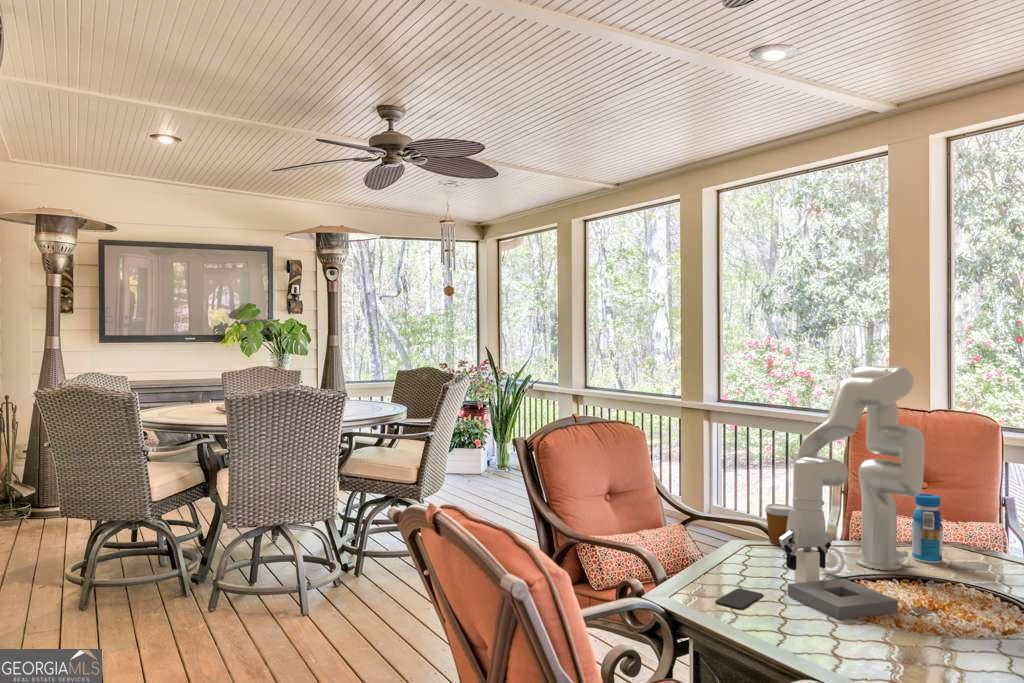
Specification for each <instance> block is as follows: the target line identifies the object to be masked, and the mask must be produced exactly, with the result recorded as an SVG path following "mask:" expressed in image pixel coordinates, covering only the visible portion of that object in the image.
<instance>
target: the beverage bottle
mask: <svg viewBox="0 0 1024 683" xmlns="http://www.w3.org/2000/svg"><path fill="white" fill-rule="evenodd" d="M914 498H915V499H914V500H915V501H914V502H915V506H917V507H916V508H915V509H914V511H913V512H912V519H913V520H912V522H911V527H912V531H911V532H912V534H911V535H912V538H911V539H912V543H911V544H912V545H911V547H912V548H911V552H912V553H911V556H912V559H913V560H914V561H917V560H918V561H917V562H920V561H921V563H924V562H927V564H940V563H942V561H943V532H944V525H943V523H942V522H943V520H944V518H943V515H942V513H941V511H940V510H939V508H941V497H940V495H936V494H932V493H931V494H930V493H918V494H917V495H915V496H914Z"/></svg>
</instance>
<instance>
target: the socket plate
mask: <svg viewBox="0 0 1024 683" xmlns="http://www.w3.org/2000/svg"><path fill="white" fill-rule="evenodd" d="M787 596H788V597H790V598H792V599H794V600H796V601H799V602H800V603H802V604H805V605H806V606H809V607H810V608H811V607H812V608H813V609H816V610H817V611H820V612H821V613H824V614H825V615H828V616H830V617H832V618H834V619H836V620H838V621H839V620H847V619H855V618H863V617H871V616H879V615H887V614H886V613H889V614H896V613H897V614H898V613H899V600H898V599H897V598H893V597H891V596H889V595H886V594H884V593H881V592H878V591H876V590H873V589H871V588H868V587H866V586H863V585H861V584H859V583H856V582H853V581H852V580H848V579H846V578H836V579H835V578H833V579H826V580H825V579H824V580H819V581H812V582H803V583H796V582H793V583H787Z"/></svg>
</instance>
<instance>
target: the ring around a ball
mask: <svg viewBox="0 0 1024 683" xmlns="http://www.w3.org/2000/svg"><path fill="white" fill-rule="evenodd" d="M831 551H833V552H831ZM834 552H835V553H836V554H835V553H834ZM837 555H838V556H837ZM839 558H840V564H839ZM838 564H839V565H838ZM845 565H846V560H845V557H844V554H843V553H842V551H841V550H839V549H838V548H836V547H835V546H832V545H831V546H830V548H829V549H828V552H827V553H826V559H825V568H821V567H819V570H821V571H822V572H824V573H825V574H829V575H837V574H839V573H841V572H842V571H843V570H844V568H845ZM835 567H837V568H836V569H834V568H835ZM829 568H830V569H829ZM832 568H833V570H831V569H832Z"/></svg>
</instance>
